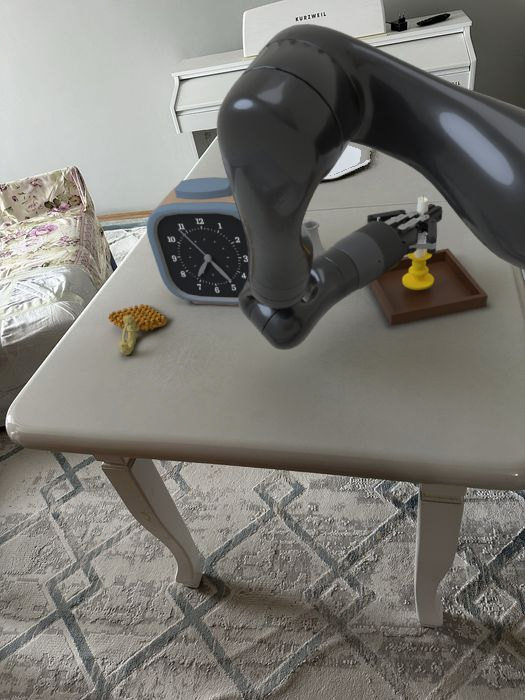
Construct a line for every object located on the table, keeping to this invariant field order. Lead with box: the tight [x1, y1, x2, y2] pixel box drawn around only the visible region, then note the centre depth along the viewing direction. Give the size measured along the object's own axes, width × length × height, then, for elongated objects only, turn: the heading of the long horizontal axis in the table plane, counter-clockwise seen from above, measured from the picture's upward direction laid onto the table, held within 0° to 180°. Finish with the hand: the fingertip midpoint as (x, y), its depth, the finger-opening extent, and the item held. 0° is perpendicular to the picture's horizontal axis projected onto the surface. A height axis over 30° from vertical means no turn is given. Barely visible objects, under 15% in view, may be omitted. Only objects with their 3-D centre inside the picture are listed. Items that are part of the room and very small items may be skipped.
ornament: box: [108, 303, 168, 356], centre depth 91 cm, size 7×10×15 cm
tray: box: [368, 248, 489, 327], centre depth 88 cm, size 16×16×3 cm
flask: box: [302, 219, 326, 258], centre depth 96 cm, size 7×7×10 cm
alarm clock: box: [146, 176, 249, 306], centre depth 91 cm, size 21×10×22 cm, turn 75°
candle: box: [402, 194, 434, 290], centre depth 83 cm, size 5×5×16 cm
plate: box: [322, 145, 371, 181], centre depth 138 cm, size 28×28×2 cm
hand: (436, 210), depth 81 cm, fingers closed on candle, 1 cm apart
